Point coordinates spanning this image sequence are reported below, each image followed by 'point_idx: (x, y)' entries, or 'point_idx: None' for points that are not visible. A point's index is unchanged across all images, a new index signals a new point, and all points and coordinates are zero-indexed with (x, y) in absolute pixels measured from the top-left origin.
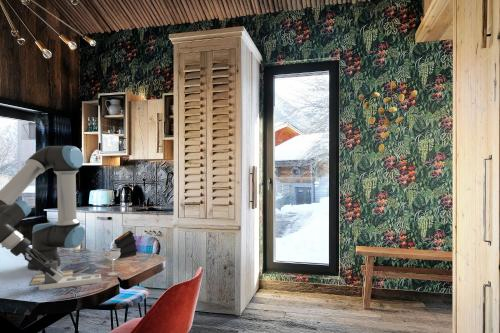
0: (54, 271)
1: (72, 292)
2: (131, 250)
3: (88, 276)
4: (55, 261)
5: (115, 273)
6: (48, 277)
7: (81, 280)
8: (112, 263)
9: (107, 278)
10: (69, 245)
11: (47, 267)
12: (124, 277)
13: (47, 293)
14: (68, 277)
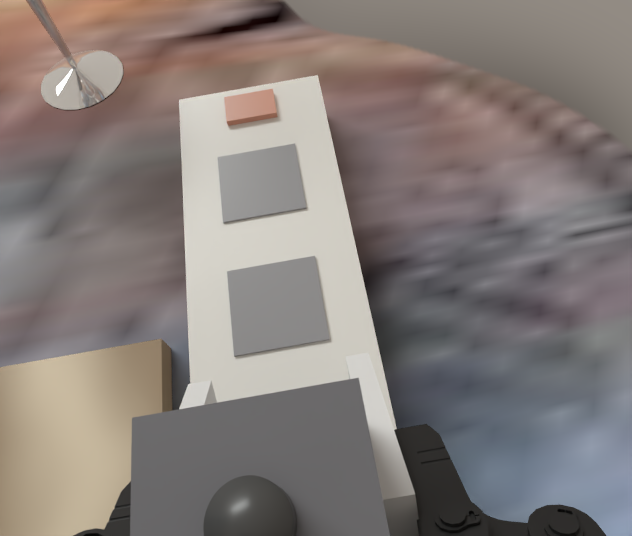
0: (394, 442)
1: (526, 270)
2: None
3: (238, 170)
4: (213, 440)
5: (100, 58)
6: None
7: (346, 207)
8: (35, 1)
9: (197, 94)
10: None
11: (583, 531)
12: (220, 6)
13: (530, 514)
14: (189, 353)
